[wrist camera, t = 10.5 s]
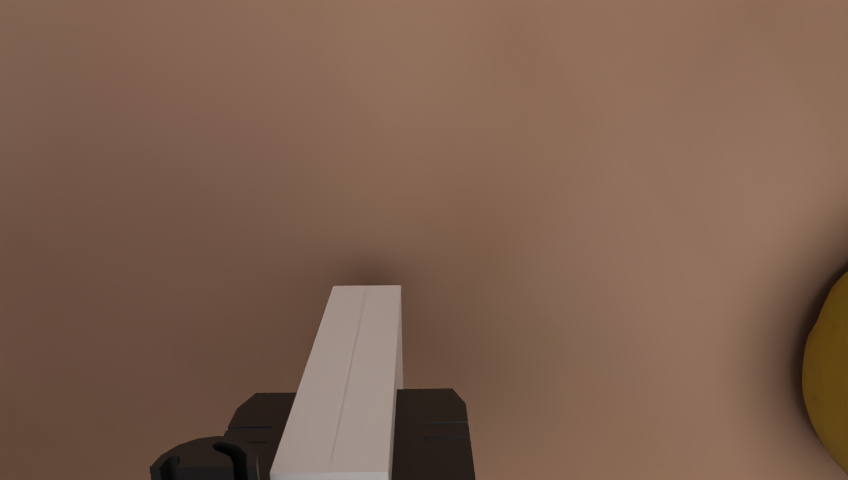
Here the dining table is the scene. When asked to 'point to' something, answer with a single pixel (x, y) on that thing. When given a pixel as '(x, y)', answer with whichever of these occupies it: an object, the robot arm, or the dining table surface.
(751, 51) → the dining table surface
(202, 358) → the dining table surface
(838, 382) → the mug
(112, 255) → the dining table surface
